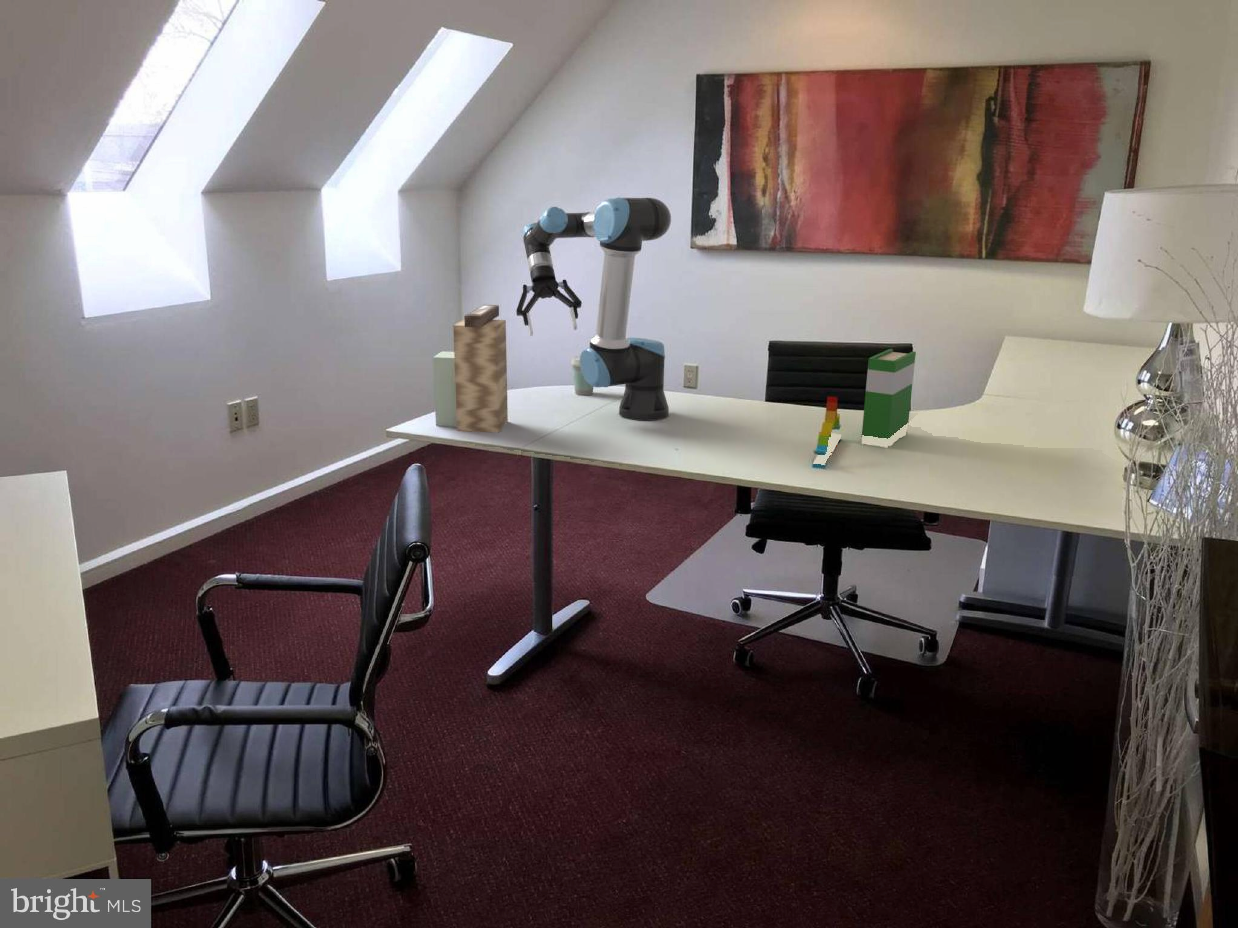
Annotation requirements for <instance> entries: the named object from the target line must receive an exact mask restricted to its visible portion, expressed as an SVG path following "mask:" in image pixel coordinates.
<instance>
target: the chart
mask: <svg viewBox="0 0 1238 928" xmlns="http://www.w3.org/2000/svg"><path fill="white" fill-rule="evenodd" d="M825 407H826V409H825V414H824V415H825V416H824V422H822V425H821V430H820V431H818V432H819V433H818V438H817V445H816V449H815V450H813V454H814V455H825V454H826V452H827V447H828V440H829V437H831V432H833V431H834V430H837V431H839V430H841V427H842V426H841V424H840V419H841V417H840V413H838V397H837V396H827V400H826V406H825ZM831 453H833V454H834V452H831ZM833 454H832V455H830V456H829V458H828V459H827V461H826V463H825V465H821V464H813V463H812V468H814V469H822V470H824V469H825V468H826V467H827V464H829V462H830V460H831V458H832V456H833ZM830 457H831V458H830ZM813 461H814V459H813ZM813 461H812V462H813Z"/></svg>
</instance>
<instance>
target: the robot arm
mask: <svg viewBox="0 0 1238 928" xmlns="http://www.w3.org/2000/svg"><path fill="white" fill-rule="evenodd" d="M671 222H672V216H671V212H670V209H669V207H668V206H667V204H665V202H663V201H661V200H659V199H658V198H653V197H621V196H620V197H615V198H607V199H605V200H603V201H602V202H601V203H600V204H599V205H598V206H597V208H596V210H595V211H588V212H565V210H563V209H562V207H561V208H559V207H558V206H550V207H548V208H546V210H545V211H544V212H543V213H542V214H541V216H540V218H538V220H537V222H531V223H528V225H525V226H524V227H523V230H522V239H523V240H522V241H523V244H524V249H525V255H526V259H527V265H528V270H529V275H530V276H529V277H530V281H531V285H527V284H523V285H522V293H521V297H520V299H519V302H518V305H517V308H516V311H515V312H516V317H517V316H518V317H521V316H522V318H523V324H524V326H525V327H526V326H528V331H529V332H528V333H529V337H533V335H534V333H533V326H532V320H531V316H530V315H531V314H530V312H531V310H532V308H533V307H534V305H535V304H536V303H537V301H539V299H542V300H543V299H544V300H545V299H547V298H549V299H550V298H552V297H554V298H555V299H557V300H558V301H560V302H562V304H564V305H566V306H567V307H568V308H569V312H570V317H571V322H572V327H573V330H574V331H576V330H577V329H578V328H577V327H578V325H577V319H578V318H579V314H578V309H580V308H582V300H581V299H580V298H579V297H578V296H577V295H576V293H575V292H574V291H573V290H572V289H571V287H570V286H569V285H568V281H567V279H563V280H562V281H559V282H558V281H557V278H556V275H555V270H554V263H553V259H552V254H551V253H552V252H551V249H550V247H551V245H552V244H553V243H554V242H555V240H556V239H569V238H570V239H571V238H572V239H573V238H596V240H598V241H599V247H600V249H602V252H603V261H602V262H603V265H602V274H601V282H600V283H601V284H600V293H599V303H598V313H597V323H596V330H595V331H596V333H595V334H594V335H592V337H590V340H589V347H586V348H585V349H583V350H582V351H581V353H580V355H579V356H580V367H581V371H582V374H583V376H584V378H585V380H586V381H587V382H588V383H589V384H590V385H591V386H593V388H609V387H614V386H619V385H620V386H621V385H624V393H623V395H622V399H621V400H620V403H619V409H618V414H619V416H621V417H623V418H624V419H630V420H636V421H654V420H663V419H665V418H667V417H669V410H670V409H669V405H668V400H667V397H666V393H665V391H664V388H665V387H664V386H665V385H664V384H665V359H666V355H665V345H664V343H663V342H661V341H659V340H656V339H648V338H644V337H643V338H641V337H627V335H626V334H627V327H628V326H627V325H628V321H629V320H628V319H629V310H630V303H631V295H632V286H633V276H634V269H635V268H634V266H635V260H636V256H637V255H638V254H639V253H640V252H641V251H642V248H643V247H642V244H643V242H646V241H647V242H648V241H653V240H658V239H660V238H662V237H663V236H664V235H666V233H667V232H668V231H669V230H670V226H671V224H672V223H671ZM559 288H561V289H562V290H564V292H565V293H566V295H567V296H568V297H567V296H566V295H565V294H564V293H562V292H561V291H560V290H559ZM530 291H531V292H532V293H533V294H532V297H531V298H530V299H529V301H528V302H527V304H526V305H525V307H524V304H525V302H526V301H527V296H528V294H529V293H530Z"/></svg>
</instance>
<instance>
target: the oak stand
mask: <svg viewBox="0 0 1238 928" xmlns="http://www.w3.org/2000/svg"><path fill="white" fill-rule="evenodd" d="M506 323H507V321H506V319H493V320H491V321H490V322H488V323H487V324H485V325H484V326H482V327H465V320H464V319H462V320H460V321H458V322H456V323H455V324H453V325H452V326H453V328H452V329H453V330H452V331H453V352H454V359H455V386H456V413H457V426H456V430H457V432H458V431H459V432H478V433H479V432H480V433H481V432H482V433H500V431H502V429H503V428H504V427H505V425H506V424H507V423H508V421H509V418H508V416H509V415H508V413H509V412H508V409H509V408H508V374H507V373H508V372H507V371H508V368H507V367H508V364H507V329H506V328H507V324H506Z"/></svg>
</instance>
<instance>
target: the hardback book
mask: <svg viewBox="0 0 1238 928" xmlns="http://www.w3.org/2000/svg"><path fill="white" fill-rule="evenodd" d="M916 354H917V352H916V351H910V352H909V353H905V352H904V353H903V352H895V351H894V349H893V348H889V349H887V350H884V351H882V352H880V353H877V354H875V355H874V356H873V355H872V356H871V357H869V358H868V361H867V362H868V363H867V373H866V374H867V375H866V384H865V396H864V406H863V416H862V417H863V418H862V426H861V427H862V428H861V436H862V435H864V436H873V437H878V438H887V439H888V438H890V437H891V436H892V435H894V433H896V432H897V431H898V430H900V428H902V427H903V426H904V425H906V424H907V423H908V424H909V421H910V420H909V419H910V410H911V400H912V393H913V381H914V372H915V365H916V356H917V355H916Z"/></svg>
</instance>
